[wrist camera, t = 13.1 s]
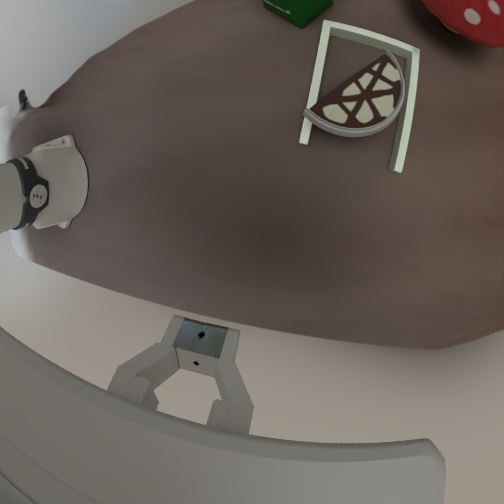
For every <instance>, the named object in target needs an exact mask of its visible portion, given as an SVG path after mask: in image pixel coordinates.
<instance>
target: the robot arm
mask: <svg viewBox="0 0 504 504" xmlns="http://www.w3.org/2000/svg"><path fill="white" fill-rule="evenodd" d="M87 189H88V177H87V170H86V166H85V162H84V160H83V158H82V156H81V154H80V153H79V151H78V150H77V149H76V147H75V143H74V139H73V137H72V135H66V136H63V137H60V138H57V139H54V140H52V141H49V142H46V143H44V144H41V145H39V146H36V147H34V148H33V151H32V152H31V153H29V154H27V155H25V156H23V157H21V158H14V159H12V160H9V161H7V162H6V163H3V164H0V234H1V233H3V232H5V231H8V230H10V229H13V230H17V229H22V228H25V227H27V226H29V225H31V224H32V225H33V226H34V227H36V229H41V228H45V227H49V226H52V225H56V224H57V225H58V226H60V227H61V228H67V227H68V226H69V225H70V222H71V220H72V218H73V217H75V216H76V215H77V214H78V213H79V212H80V211H81V209H82V208H83V206H84V203H85V200H86V196H87ZM239 336H240V330H236V329H231V328H228V327H223V326H219V325H214V324H210V323H204V322H200V321H197V320H193V319H189V318H186V317H182V316H178V315H174V316H173V317H172V319H171V321H170V323H169V325H168V328H167V330H166V332H165V334H164V336H163V339H162V341H161V343H156V344H154V345H153V346H151V347H149V348H148V349H146V350H144V351H143V352H141V353H140V354H138V355H136V356H135V357H133V358H132V359H130V360H129V361H127V362H125V363H124V364H122V365H120V366H119V367H118V368H117V370H116V372H115V374H114V376H113V378H112V380H111V382H110V385H109V387H108V389H107V390H104V389H102V388H100V387H98V386H96V385H94V384H92V383H90V382H88V381H86V380H84V379H82V378H80V377H78V376H76V375H74V374H72V373H70V372H69V371H67V370H65V369H63V368H61V367H60V366H58V365H56V364H55V363H53V362H51V361H49V360H48V359H46V358H45V357H43V356H41V355H40V354H38V353H36V352H35V351H33V350H32V349H30V348H29V347H27V346H26V345H25V344H23V343H22V342H20V341H19V340H17V339H16V338H15V337H13V336H12V335H11V334H9V333H8V332H6V331H5V330H4V329H3V328H1V327H0V504H443V502H444V493H445V478H446V474H445V473H446V467H445V459H444V457H443V456H442V454H441V452H440V451H439V450H438V448H437V447H436V446H435V445H434V443H433V442H432V441H430V440H429V439H427V438H425V439H415V440H406V441H396V442H382V443H359V444H358V443H357V444H356V443H355V444H354V443H350V444H349V443H347V444H346V443H317V442H316V443H315V442H303V441H292V440H283V439H274V438H268V437H261V436H255V435H249V429H250V424H251V419H252V414H253V409H254V406H253V403H252V401H251V399H250V396H249V394H248V392H247V389H246V387H245V385H244V383H243V380H242V378H241V375H240V373H239V370H238V368H237V366H236V363H234V362H235V357H236V353H237V348H238V342H239ZM179 368H181V369H185V370H189V371H193V372H197V373H201V374H204V375H208V376H211V377H215V380H216V383H217V386H218V389H219V392H220V395H221V398H222V400H218V399H217V400H215V401H213V404H212V407H211V411H210V414H209V417H208V421H207V425H203V424H199V423H195V422H192V421H188V420H185V419H182V418H178V417H175V416H172V415H169V414H166V413H163V412H159V411H157V407H158V404H159V401H158V399H157V397H156V395H155V393H154V391H153V390H154V389H155V388H157V387H158V386H159V385H160V384H162V383H163V382H164V381H165V380H166V379H168V378H169V377H170V376H172V375H173V374H174V373H175V372H176V371H178V370H179Z"/></svg>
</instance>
